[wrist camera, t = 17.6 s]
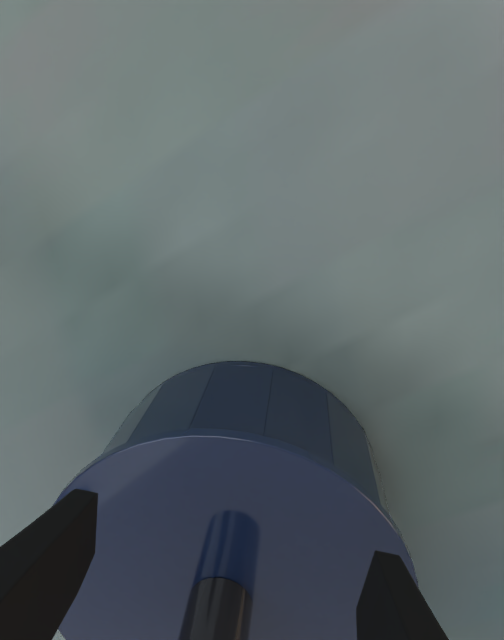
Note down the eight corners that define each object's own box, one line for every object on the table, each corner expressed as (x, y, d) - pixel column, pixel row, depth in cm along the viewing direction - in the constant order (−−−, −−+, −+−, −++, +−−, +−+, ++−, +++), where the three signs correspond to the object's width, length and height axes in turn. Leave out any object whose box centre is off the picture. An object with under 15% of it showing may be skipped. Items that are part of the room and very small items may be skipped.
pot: (391, 369, 21) (427, 456, 15) (363, 588, 25) (382, 726, 19) (109, 352, 22) (34, 426, 16) (129, 564, 26) (76, 686, 20)
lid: (439, 433, 15) (492, 540, 11) (389, 718, 20) (412, 871, 15) (28, 404, 16) (-69, 488, 12) (72, 677, 21) (14, 808, 17)
